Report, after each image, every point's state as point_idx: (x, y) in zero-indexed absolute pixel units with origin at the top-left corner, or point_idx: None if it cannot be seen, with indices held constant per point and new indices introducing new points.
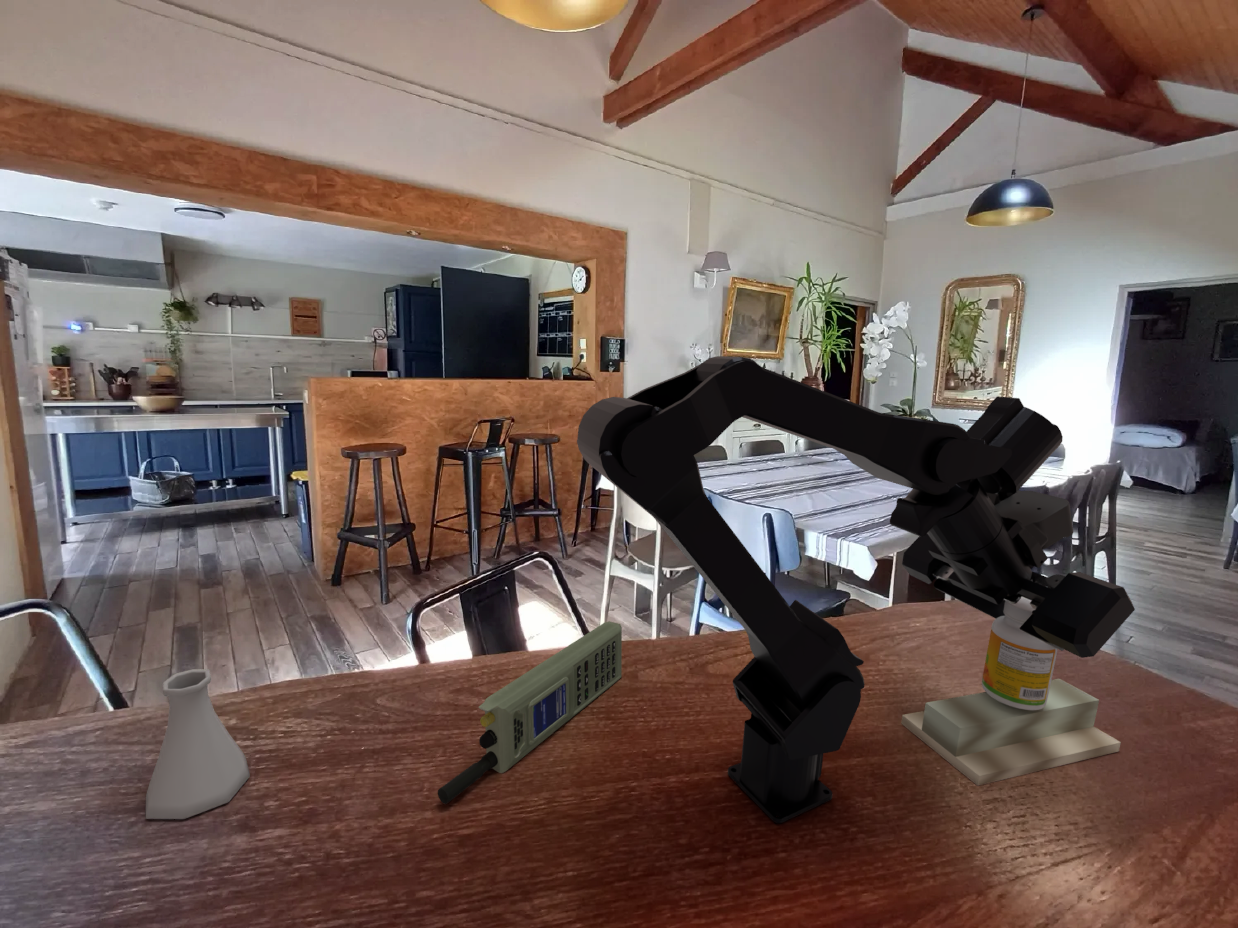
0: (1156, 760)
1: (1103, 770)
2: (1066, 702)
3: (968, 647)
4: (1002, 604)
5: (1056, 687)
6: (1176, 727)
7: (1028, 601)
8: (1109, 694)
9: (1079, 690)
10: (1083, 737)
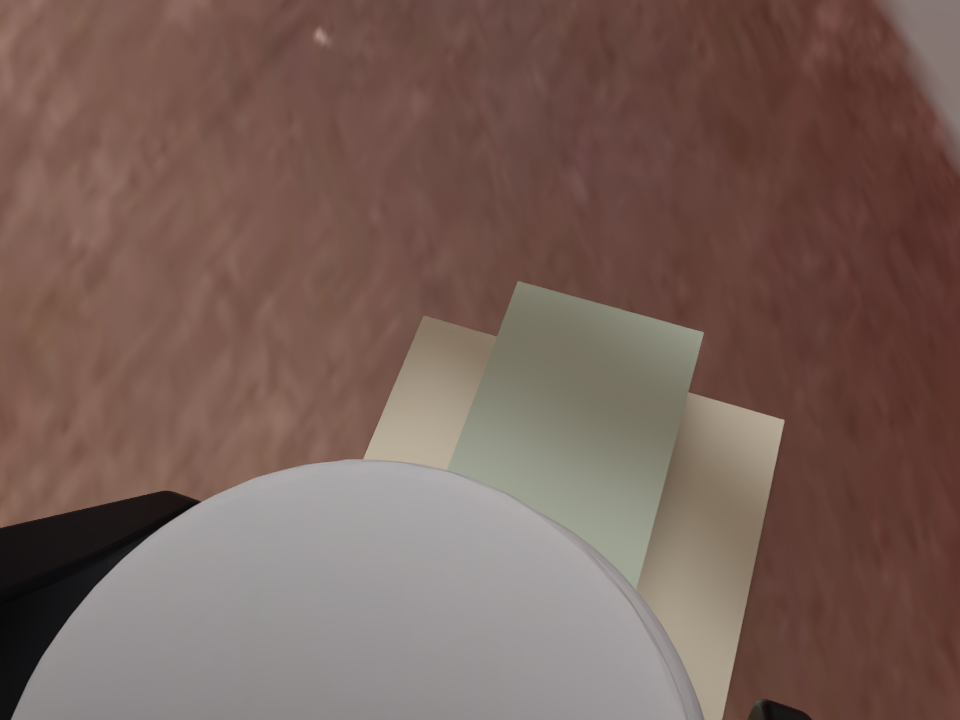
0: (864, 376)
1: (802, 637)
2: (630, 496)
3: (125, 139)
4: (31, 644)
5: (543, 382)
6: (801, 102)
7: (277, 665)
8: (594, 66)
9: (617, 318)
10: (691, 516)
